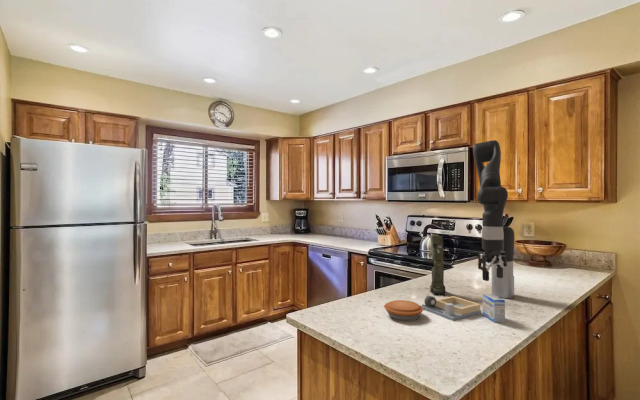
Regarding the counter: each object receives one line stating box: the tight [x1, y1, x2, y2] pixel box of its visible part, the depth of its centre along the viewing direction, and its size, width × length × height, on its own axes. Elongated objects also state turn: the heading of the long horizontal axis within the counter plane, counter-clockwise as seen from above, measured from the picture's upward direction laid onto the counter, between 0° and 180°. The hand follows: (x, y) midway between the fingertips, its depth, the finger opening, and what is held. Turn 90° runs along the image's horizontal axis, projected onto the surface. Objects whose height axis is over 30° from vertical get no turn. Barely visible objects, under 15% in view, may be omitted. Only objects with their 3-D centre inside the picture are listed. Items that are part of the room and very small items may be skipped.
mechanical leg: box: [429, 234, 446, 297], centre depth 166 cm, size 14×7×30 cm, turn 168°
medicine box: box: [482, 293, 506, 323], centre depth 128 cm, size 8×4×9 cm, turn 5°
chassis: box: [420, 295, 482, 322], centre depth 138 cm, size 17×17×5 cm
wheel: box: [423, 295, 437, 307], centre depth 140 cm, size 4×3×4 cm, turn 118°
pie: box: [383, 299, 425, 322], centre depth 133 cm, size 15×16×5 cm
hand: (492, 279), depth 128 cm, fingers open, 8 cm apart
